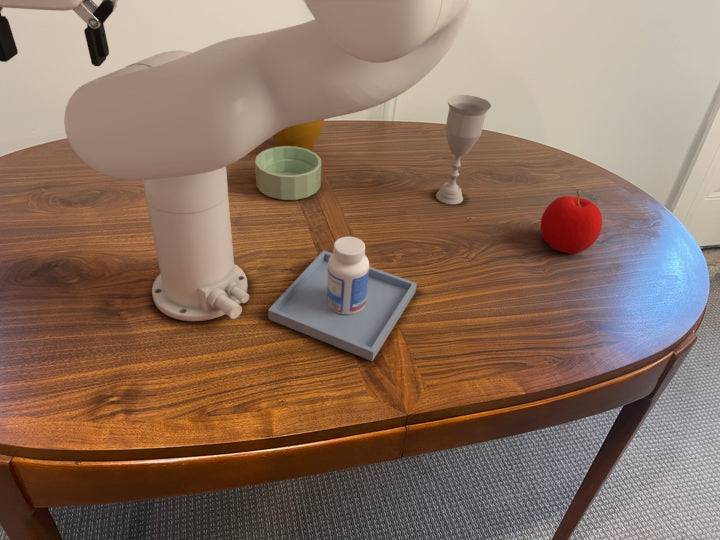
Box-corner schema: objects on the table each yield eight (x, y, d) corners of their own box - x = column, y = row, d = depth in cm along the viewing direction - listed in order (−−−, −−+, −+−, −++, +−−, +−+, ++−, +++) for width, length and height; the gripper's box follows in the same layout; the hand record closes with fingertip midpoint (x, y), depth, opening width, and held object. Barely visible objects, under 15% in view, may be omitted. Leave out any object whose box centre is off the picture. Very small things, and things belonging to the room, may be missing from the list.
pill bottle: (365, 290, 76) (371, 233, 70) (366, 316, 72) (373, 259, 66) (326, 288, 76) (329, 232, 70) (325, 315, 71) (328, 257, 65)
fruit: (589, 236, 92) (610, 186, 86) (592, 267, 85) (616, 214, 79) (535, 225, 94) (552, 174, 88) (534, 254, 87) (552, 201, 81)
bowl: (333, 186, 99) (334, 162, 96) (287, 209, 92) (287, 183, 89) (289, 164, 105) (289, 140, 102) (243, 184, 97) (241, 159, 94)
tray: (415, 292, 77) (417, 283, 76) (372, 361, 66) (373, 352, 65) (323, 259, 82) (323, 250, 81) (268, 319, 71) (267, 309, 70)
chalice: (438, 208, 96) (457, 111, 85) (424, 189, 101) (440, 95, 90) (475, 205, 98) (498, 110, 87) (460, 186, 103) (480, 94, 92)
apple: (332, 150, 111) (335, 88, 103) (301, 169, 103) (301, 104, 95) (290, 135, 115) (290, 74, 107) (257, 152, 108) (254, 88, 100)
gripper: (-123, -135, 46) (-44, 67, 57) (88, -117, 48) (126, 75, 58) (-75, -138, 52) (-12, 46, 62) (112, -122, 54) (142, 54, 64)
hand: (55, 60), depth 60 cm, fingers open, 9 cm apart
